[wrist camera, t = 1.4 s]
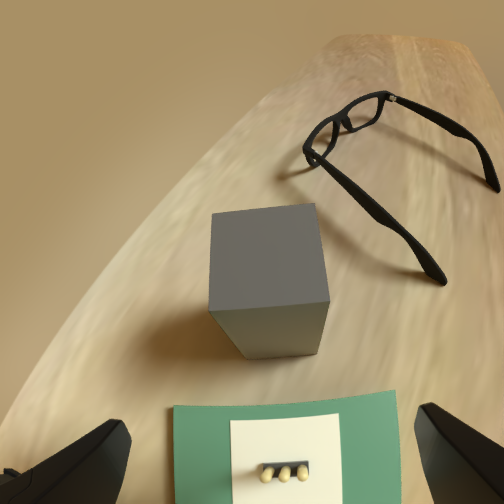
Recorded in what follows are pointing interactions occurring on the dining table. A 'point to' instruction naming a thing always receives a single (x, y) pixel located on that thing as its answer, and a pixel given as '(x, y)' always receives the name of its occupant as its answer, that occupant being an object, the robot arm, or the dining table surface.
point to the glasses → (362, 197)
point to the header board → (289, 452)
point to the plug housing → (269, 280)
